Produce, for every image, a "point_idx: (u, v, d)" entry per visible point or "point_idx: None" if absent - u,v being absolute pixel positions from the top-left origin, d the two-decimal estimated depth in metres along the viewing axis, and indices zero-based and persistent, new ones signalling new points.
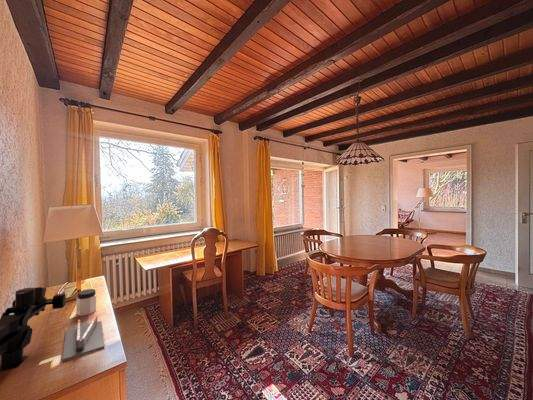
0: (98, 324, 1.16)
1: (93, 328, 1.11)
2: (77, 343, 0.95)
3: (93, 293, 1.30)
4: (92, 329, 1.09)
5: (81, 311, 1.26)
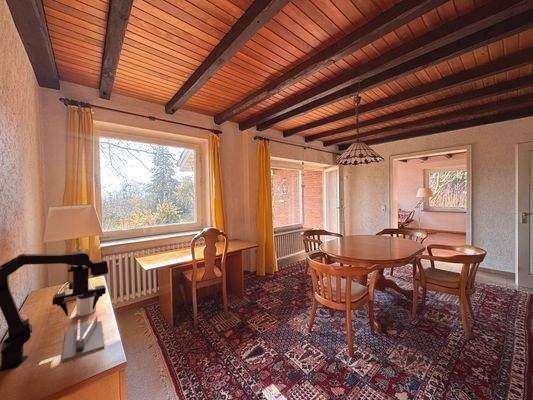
0: (98, 324, 1.16)
1: (93, 328, 1.11)
2: (77, 343, 0.95)
3: None
4: (92, 329, 1.09)
5: (81, 311, 1.26)
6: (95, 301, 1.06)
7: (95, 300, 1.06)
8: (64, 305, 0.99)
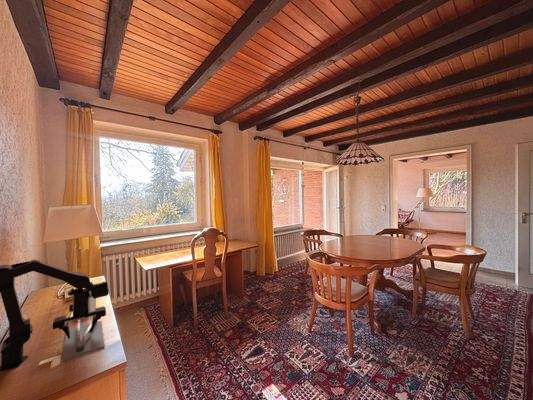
0: (98, 324, 1.16)
1: None
2: (77, 343, 0.95)
3: None
4: None
5: None
6: (93, 324, 1.06)
7: (93, 323, 1.06)
8: (66, 328, 0.99)
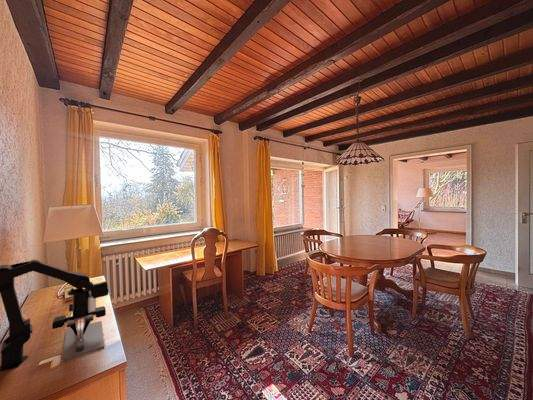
0: (98, 324, 1.16)
1: None
2: (77, 343, 0.95)
3: None
4: None
5: None
6: (86, 326, 1.04)
7: (86, 325, 1.04)
8: (74, 326, 1.01)
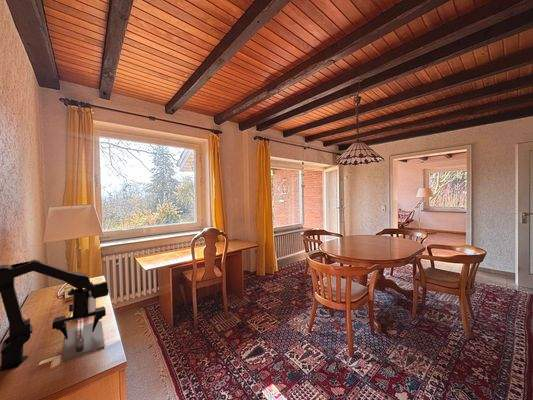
0: (98, 324, 1.16)
1: None
2: (77, 343, 0.95)
3: None
4: None
5: None
6: (95, 323, 1.06)
7: (95, 323, 1.06)
8: (64, 329, 0.99)
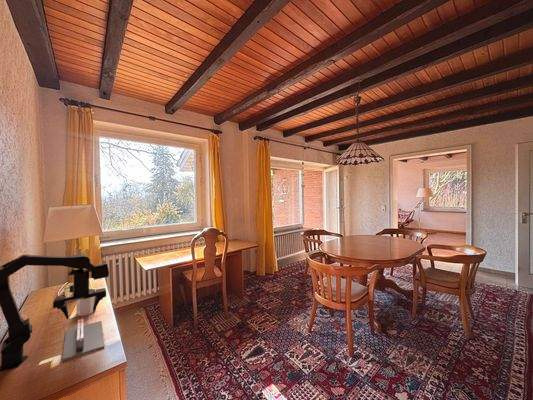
0: (98, 324, 1.16)
1: None
2: (77, 343, 0.95)
3: None
4: None
5: (81, 311, 1.26)
6: (95, 304, 1.06)
7: (95, 303, 1.06)
8: (64, 308, 0.99)
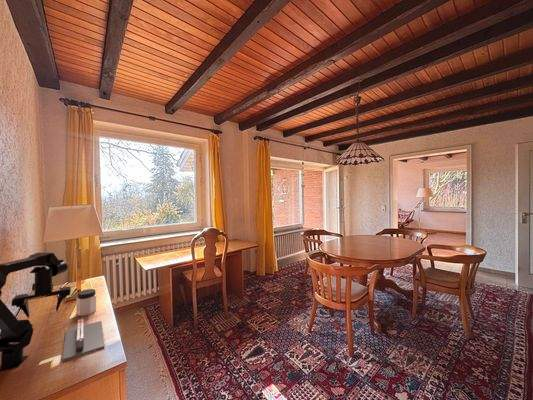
0: (98, 324, 1.16)
1: None
2: (77, 343, 0.95)
3: (93, 293, 1.30)
4: None
5: (81, 311, 1.26)
6: (58, 303, 1.04)
7: (58, 302, 1.04)
8: (24, 306, 0.97)
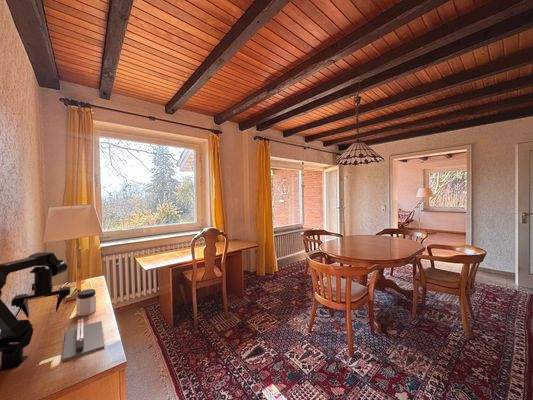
0: (98, 324, 1.16)
1: None
2: (77, 343, 0.95)
3: (93, 293, 1.30)
4: None
5: (81, 311, 1.26)
6: (58, 303, 1.04)
7: (58, 301, 1.04)
8: (24, 306, 0.97)
